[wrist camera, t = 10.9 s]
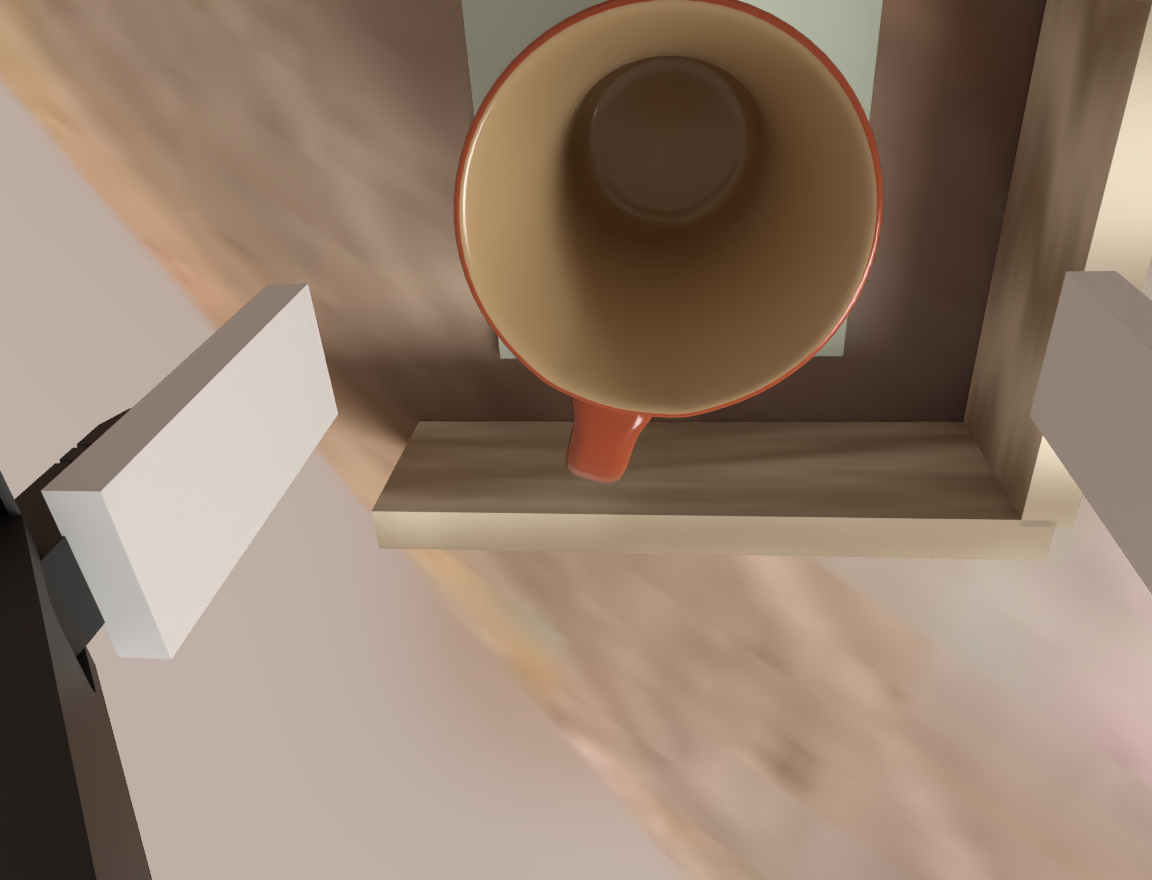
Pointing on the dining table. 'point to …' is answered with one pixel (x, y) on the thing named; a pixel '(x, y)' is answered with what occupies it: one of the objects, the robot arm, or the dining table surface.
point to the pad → (808, 3)
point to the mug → (666, 212)
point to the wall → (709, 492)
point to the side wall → (1063, 227)
